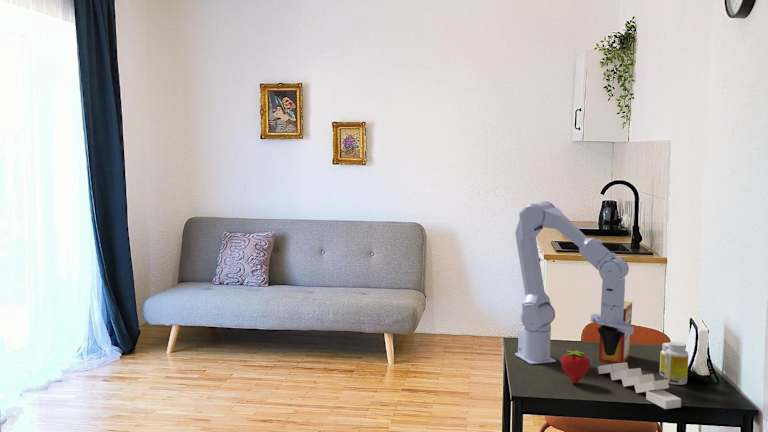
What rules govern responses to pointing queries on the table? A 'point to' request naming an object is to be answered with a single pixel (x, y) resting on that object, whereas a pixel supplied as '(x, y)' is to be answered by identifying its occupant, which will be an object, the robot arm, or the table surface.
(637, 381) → the domino
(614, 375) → the domino
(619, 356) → the baking soda box
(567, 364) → the strawberry
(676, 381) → the supplement bottle
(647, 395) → the domino
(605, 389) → the table surface
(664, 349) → the supplement bottle
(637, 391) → the domino
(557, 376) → the table surface
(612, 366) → the domino head
